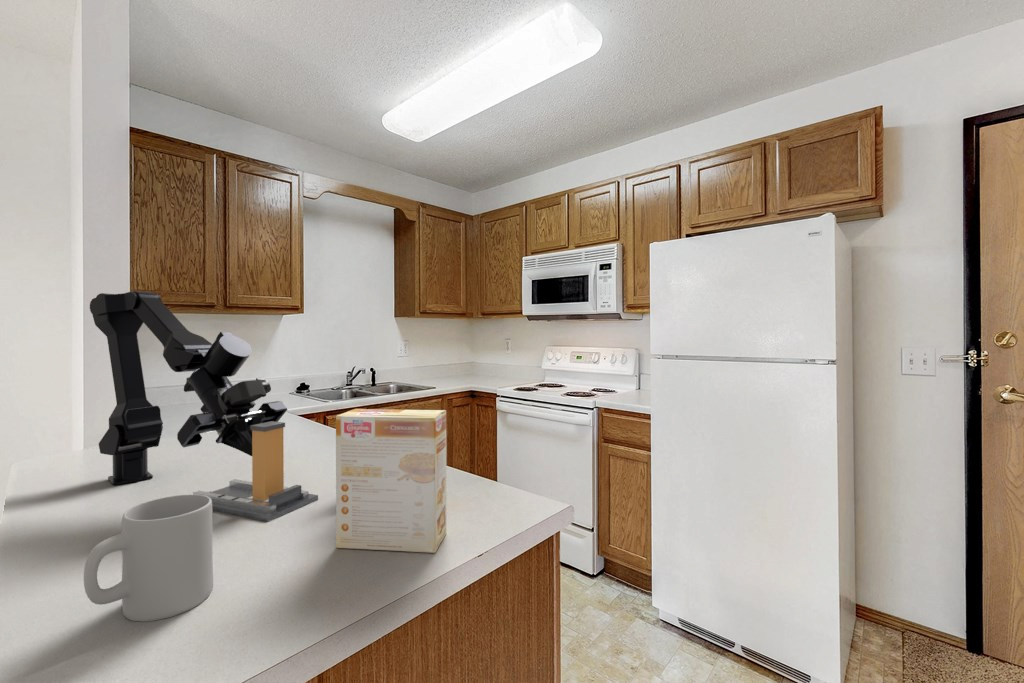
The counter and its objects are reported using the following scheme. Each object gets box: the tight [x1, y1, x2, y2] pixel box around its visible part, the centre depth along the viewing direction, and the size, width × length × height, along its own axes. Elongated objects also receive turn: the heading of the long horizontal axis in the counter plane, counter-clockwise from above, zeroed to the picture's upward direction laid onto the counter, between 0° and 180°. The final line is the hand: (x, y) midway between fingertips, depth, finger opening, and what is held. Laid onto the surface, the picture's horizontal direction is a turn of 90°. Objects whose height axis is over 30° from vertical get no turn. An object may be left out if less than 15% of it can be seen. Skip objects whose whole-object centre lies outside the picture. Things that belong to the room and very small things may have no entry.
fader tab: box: [247, 421, 286, 503], centre depth 84 cm, size 5×5×14 cm
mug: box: [83, 494, 214, 622], centre depth 52 cm, size 12×8×11 cm
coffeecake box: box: [335, 408, 447, 554], centre depth 70 cm, size 15×7×20 cm, turn 84°
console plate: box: [192, 479, 319, 522], centre depth 85 cm, size 20×11×3 cm, turn 69°
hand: (260, 456), depth 84 cm, fingers closed
